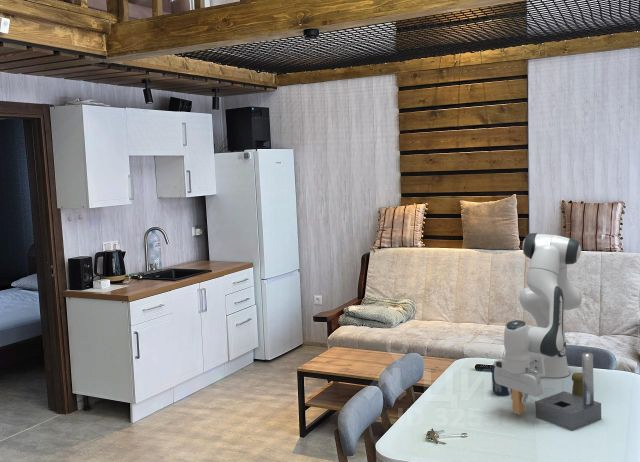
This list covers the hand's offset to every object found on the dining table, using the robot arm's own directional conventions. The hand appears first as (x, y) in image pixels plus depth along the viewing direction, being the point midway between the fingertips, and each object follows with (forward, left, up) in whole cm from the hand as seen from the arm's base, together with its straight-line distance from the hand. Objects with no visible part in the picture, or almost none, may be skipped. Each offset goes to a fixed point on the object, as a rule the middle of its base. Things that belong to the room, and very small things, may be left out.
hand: (518, 401), depth 241 cm
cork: (+5, +29, -6) cm, 30 cm away
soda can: (-20, +13, -6) cm, 25 cm away
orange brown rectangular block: (0, 0, -4) cm, 4 cm away
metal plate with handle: (+13, +12, -6) cm, 18 cm away
